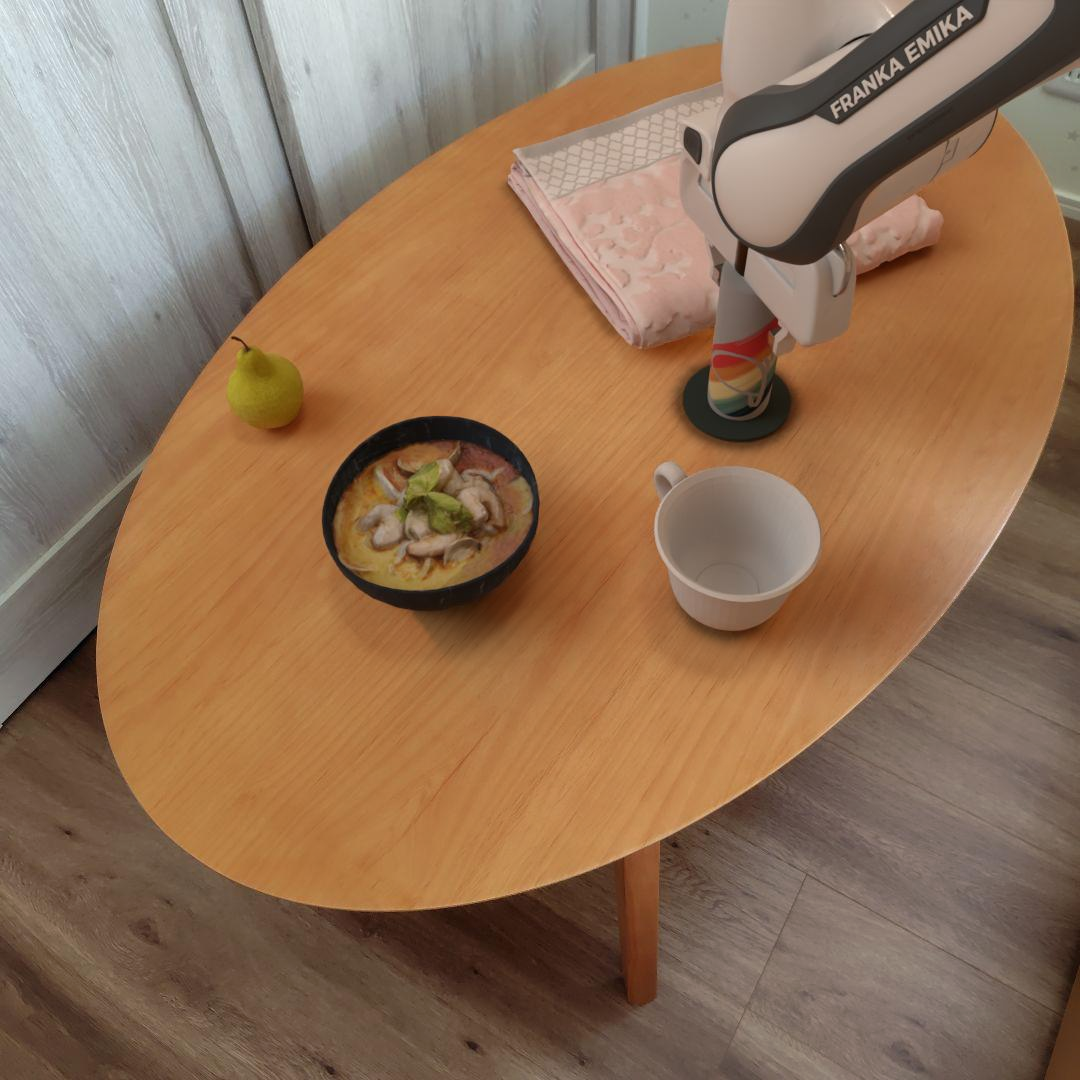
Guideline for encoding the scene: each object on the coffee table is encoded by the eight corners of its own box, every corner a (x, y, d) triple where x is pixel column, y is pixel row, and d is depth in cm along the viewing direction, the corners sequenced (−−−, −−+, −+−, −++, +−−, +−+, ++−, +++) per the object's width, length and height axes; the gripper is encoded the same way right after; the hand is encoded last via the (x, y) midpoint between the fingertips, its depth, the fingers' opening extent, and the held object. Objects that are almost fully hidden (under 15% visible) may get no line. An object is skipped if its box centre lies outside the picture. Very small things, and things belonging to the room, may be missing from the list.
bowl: (336, 656, 76) (302, 591, 67) (355, 487, 85) (328, 413, 77) (548, 646, 75) (540, 579, 67) (543, 477, 85) (535, 400, 76)
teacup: (709, 494, 82) (719, 417, 74) (833, 612, 75) (859, 540, 67) (598, 564, 79) (596, 492, 71) (717, 695, 71) (730, 630, 63)
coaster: (755, 350, 92) (755, 347, 92) (811, 419, 86) (812, 416, 86) (663, 384, 90) (663, 381, 90) (715, 456, 85) (716, 453, 84)
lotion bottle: (730, 431, 86) (757, 251, 69) (694, 392, 89) (712, 211, 72) (781, 406, 87) (819, 224, 71) (744, 369, 90) (773, 186, 74)
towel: (764, 98, 116) (770, 52, 112) (942, 254, 98) (958, 207, 93) (500, 185, 110) (495, 140, 105) (637, 371, 91) (639, 326, 86)
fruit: (256, 387, 93) (214, 293, 84) (322, 393, 92) (287, 298, 83) (232, 440, 90) (184, 347, 80) (299, 447, 89) (260, 353, 79)
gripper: (895, 235, 63) (853, 381, 74) (740, 88, 74) (723, 235, 85) (814, 264, 62) (783, 408, 73) (668, 111, 73) (661, 256, 84)
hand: (750, 313), depth 79 cm, fingers open, 8 cm apart
